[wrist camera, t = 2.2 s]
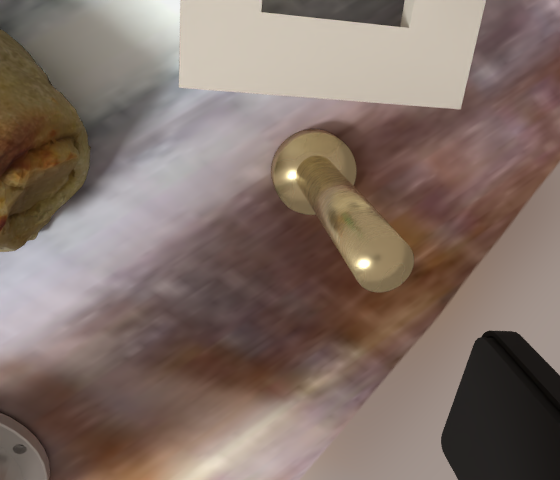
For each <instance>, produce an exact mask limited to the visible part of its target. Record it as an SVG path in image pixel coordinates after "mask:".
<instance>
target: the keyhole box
mask: <svg viewBox="0 0 560 480" xmlns="http://www.w3.org/2000/svg"><path fill="white" fill-rule="evenodd" d="M485 3H486V0H405V2H404V8H403V13H402V19H401V25H400V27H396V26H386V25H377V24H368V23H358V22H349V21H340V20H330V19H321V18H312V17H302V16H293V15H284V14H274V13H265V12H261V10H262V0H181V3H180V57H179V88H190V89H203V90H216V91H229V92H242V93H255V94H268V95H281V96H294V97H307V98H320V99H333V100H346V101H359V102H372V103H385V104H398V105H411V106H424V107H437V108H450V109H461V106H462V101H463V97H464V93H465V88H466V84H467V80H468V76H469V71H470V67H471V63H472V58H473V54H474V50H475V45H476V41H477V37H478V33H479V28H480V24H481V20H482V15H483V11H484V7H485Z"/></svg>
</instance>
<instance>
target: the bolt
mask: <svg viewBox="0 0 560 480" xmlns="http://www.w3.org/2000/svg"><path fill="white" fill-rule="evenodd" d="M271 178H272V182H273V185H274V187H275V189H276V191H277V194H278V195H279V197H280V199H281V200H282V201H283V203H284V204H285V205H287V206H288V207H289V208H290V209H292V210H294V211H296V212H299V213H302V214H307V215H317V217H318V218H319V220H320V222H321V223H322V225H323V227H324V228H325V230H326V231H327V233H328V235H329V236H330V238H331V239H332V241H333V243H334V244H335V246H336V247H337V249H338V251H339V252H340V254H341V255H342V257H343V259H344V260H345V262H346V263H347V265H348V267H349V268H350V270H351V271H352V273H353V275H354V276H355V278H356V279H357V281H358V282H359V284H360V285H361V286H362V287H363V288H365V289H367V290H369V291H372V292H387V291H390V290H393V289H395V288H397V287H398V286H400V285H401V284H402V283H403V282H404V281H405V280H406V279H407V278H408V277H409V275H410V273H411V271H412V269H413V265H414V255H413V252H412V250H411V248H410V246H409V245H408V244H407V243H406V242H405V241H404V240H403V239H402V238H401V237H400V235H399V234H398V233H397V232H396V231H395V230H394V229H393V228H392V227H391V226H390V225H389V224H388V223H387V222H386V220H385V219H384V218H383V217H382V216H381V215H380V214H379V213H378V212H377V211H376V210H375V209H374V208H373V207H372V205H371V204H370V203H369V202H368V201H367V200H366V199H365V198H364V197H363V196H362V195H361V194H360V193H359V191H358V190H357V189H356V188H355V187H354V183H355V179H356V163H355V159H354V156H353V154H352V152H351V151H350V149H349V148H348V147H347V146H346V144H345V143H343V142H342V141H341V140H340V139H339V138H338V137H336V136H335V135H333V134H332V133H329V132H327V131H324V130H319V129H309V130H303V131H300V132H298V133H295V134H293V135H292V136H290V137H289V138H287V139H286V140H285V141H284V142H283V143H282V144H281V145H280V147H279V148H278V150H277V151H276V153H275V155H274V158H273V161H272V166H271Z"/></svg>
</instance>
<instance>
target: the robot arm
mask: <svg viewBox="0 0 560 480" xmlns="http://www.w3.org/2000/svg"><path fill="white" fill-rule="evenodd" d="M441 444H442V449H443V452H444V454H445V456H446V458H447V460H448V462H449V464H450V465H451V467H452V469H453V471H454V472H455V474H456V476H457V478H458V480H560V376H559V375H558V373H557V372H555V370H554V369H553V368H552V367H551V366H550V365H549V364H548V363H547V362H546V361H545V360H544V359H543V358H542V357H541V356H540V355H539V354H538V353H537V352H536V351H535V350H534V349H533V348H532V347H531V346H530V345H529V344H528V343H527V342H526V341H525V340H524V339H523V338H522V337H521V336H520V335H519V334H518V333H516V332H512V331H487V332H485V333H484V334H483V335H482V337H481V338H478V339H477V340H476V341H475V343H474V346H473V348H472V351H471V354H470V357H469V360H468V362H467V365H466V368H465V371H464V374H463V376H462V379H461V382H460V385H459V388H458V390H457V393H456V396H455V399H454V402H453V405H452V407H451V411H450V413H449V416H448V419H447V421H446V424H445V427H444V430H443V433H442V437H441ZM49 478H50V466H49V460H48V457H47V455H46V452H45V450H44V448H43V446H42V445H41V444H40V442H39V441H38V439H37V438H36V437H35V436H34V435H33V434H32V433H31V432H30V431H29V430H28V429H27V428H26V427H25V426H23V425H22V424H20V423H18V422H17V421H15V420H14V419H12V418H11V417H9V416H6V415H4V414H2V413H0V480H49Z"/></svg>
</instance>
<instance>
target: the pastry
mask: <svg viewBox="0 0 560 480" xmlns="http://www.w3.org/2000/svg"><path fill="white" fill-rule="evenodd" d="M90 148H91V147H90V146H89V145H88V135H87V132H86V129H85V127H84V125H83V123H82V121H80V118H79V116H78V114H77V112H76V109H75V108H74V107H73V106H72V105H71V104H70V103H69V101H68V100H67V99H66V98H65V97H64V96H63V95H62V93H60V92H59V91H57V90H56V89H55V88H54V87H53V86H52V84H51V83H50V81H49V80H48V77H47V75H46V74H45V73H44V71H43V70H42V69H41V68H40V67H39V66H38V65H36V63H35V61H34V60H33V58H32V57H31V55H30V54H29V53H28V52H27V51H26V50H25V49H24V48H23V47H22V46H21V45H20V44H19V43H18V42H17V41H15V40H14V39H13V38H12V37H11V36H10V35H8V34H7V33H6V32H4V31H3V30H1V29H0V252H9V251H15V250H17V249H19V248H20V247H22V246H23V245H25V243H26V242H27V241H29V240H34V239H35V238H36V237H37V235H38V232H39V231H40V230H41V229H42V227H43V226H45V225H46V224H48V223H49V221H50V219H51V217H52V215H53V214H54V213H55V212H56V211H57V210H58V209H59V208H60V207H61V206H63V205H64V204H65V203H66V202H67V201H68V200H69V199H70V198H71V197H72V196H73V195H74V194H75V193H76V192H77V191H78V190H79V189H80V188H81V187H82V185H83V184H84V182H85V180H86V177H87V173H88V170H89V162H90Z"/></svg>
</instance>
